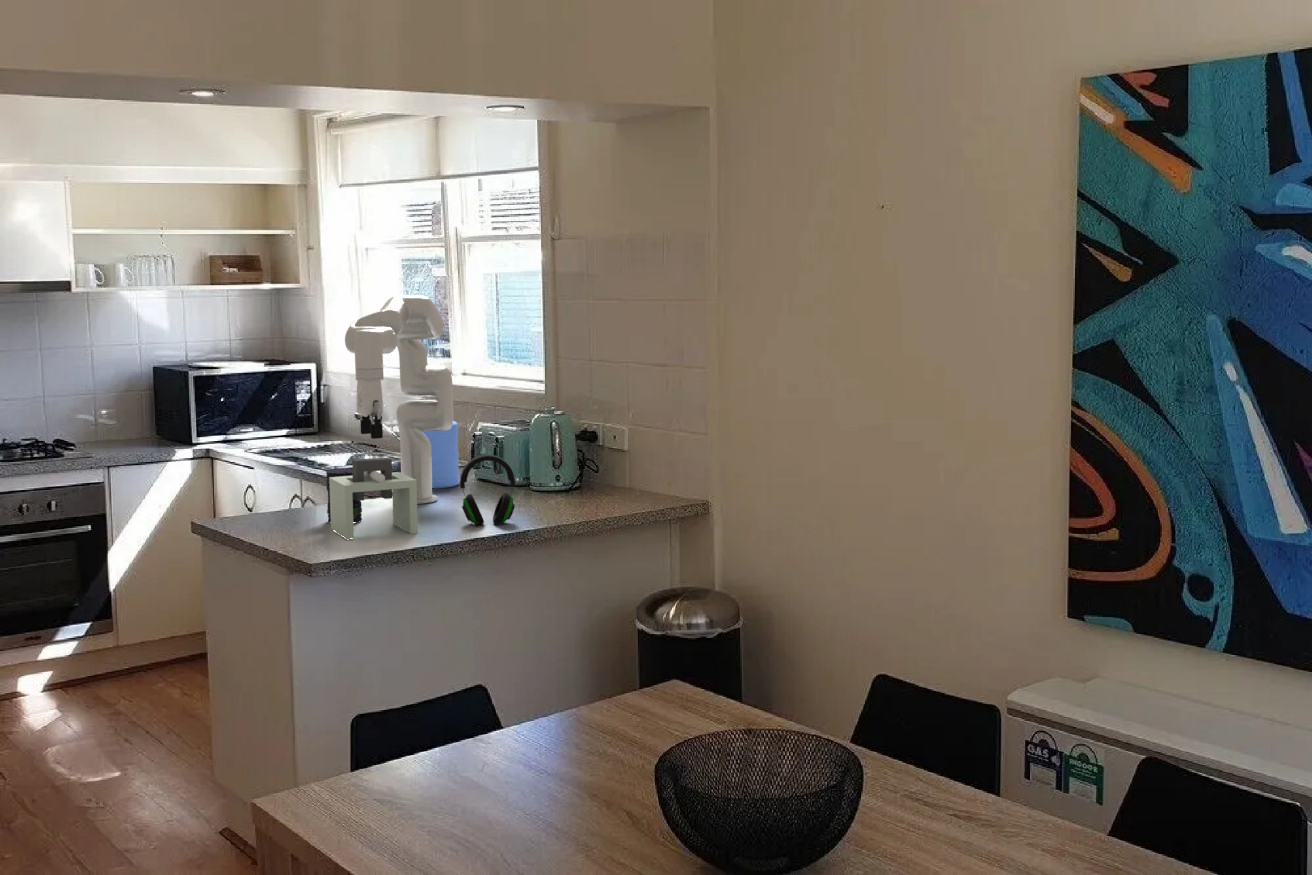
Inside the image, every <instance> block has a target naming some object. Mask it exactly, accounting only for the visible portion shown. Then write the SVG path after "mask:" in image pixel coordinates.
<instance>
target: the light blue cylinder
mask: <svg viewBox="0 0 1312 875" xmlns="http://www.w3.org/2000/svg"><path fill="white" fill-rule="evenodd" d="M458 426H459V424H458V422H456V421H454V420H453V425H452V427H451V428H450V429H449V430H447V431H423V433H424V434H425V435H426V437H427V438H428V439H429V441H430V443H431V457H432V488H434V489H446V488H452V487H456V486H458V485H460V475H459V470H460V469H459V458H460V456H459V455H460V454H459V428H458Z"/></svg>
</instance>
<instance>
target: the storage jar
mask: <svg viewBox="0 0 1312 875" xmlns="http://www.w3.org/2000/svg"><path fill="white" fill-rule="evenodd" d="M325 474H326V480H325V481H326V482H325V483H326V491H327V509H326V510H327V512H326V513H327V517H328V519H327V523H328V522H331V513H330V484H329V477H341V476H353V468H352V467H339V468H337V467H336V468H331V469H327V470H326V471H325ZM352 497H353V492H352ZM362 515H363V508H362V501H356V500H354V499H353V522H359V521H361V520H362V521H363V519H362ZM362 521H361V522H362ZM359 523H360V522H359Z"/></svg>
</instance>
